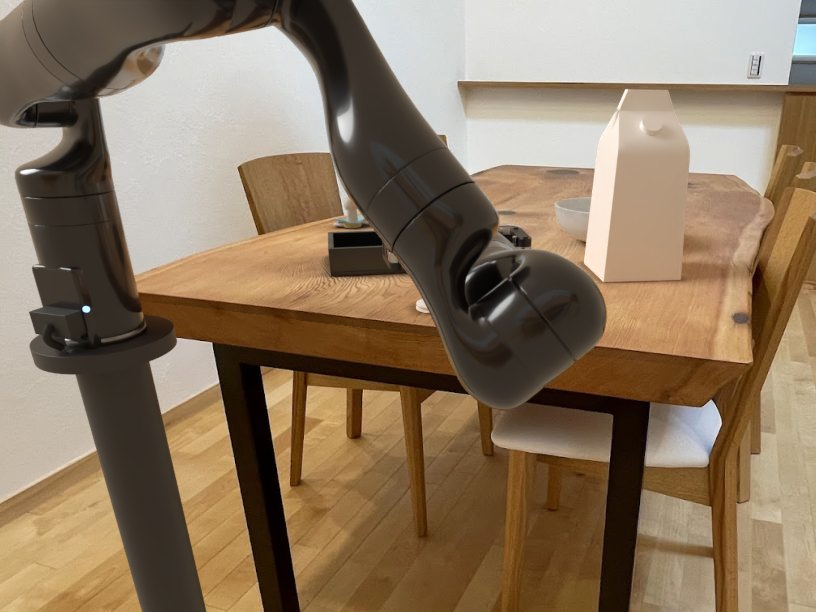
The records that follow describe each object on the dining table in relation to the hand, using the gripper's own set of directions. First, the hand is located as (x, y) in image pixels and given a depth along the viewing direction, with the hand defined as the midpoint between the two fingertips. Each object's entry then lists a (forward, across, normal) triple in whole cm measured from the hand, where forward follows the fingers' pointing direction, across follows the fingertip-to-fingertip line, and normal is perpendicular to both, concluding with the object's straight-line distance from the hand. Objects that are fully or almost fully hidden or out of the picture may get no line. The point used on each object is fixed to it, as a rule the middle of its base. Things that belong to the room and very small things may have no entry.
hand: (445, 233), depth 71 cm
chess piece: (+10, 0, +12) cm, 16 cm away
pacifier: (+67, +9, +11) cm, 69 cm away
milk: (+23, -32, +12) cm, 41 cm away
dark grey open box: (+35, +7, +11) cm, 37 cm away
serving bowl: (+43, -37, +12) cm, 58 cm away
